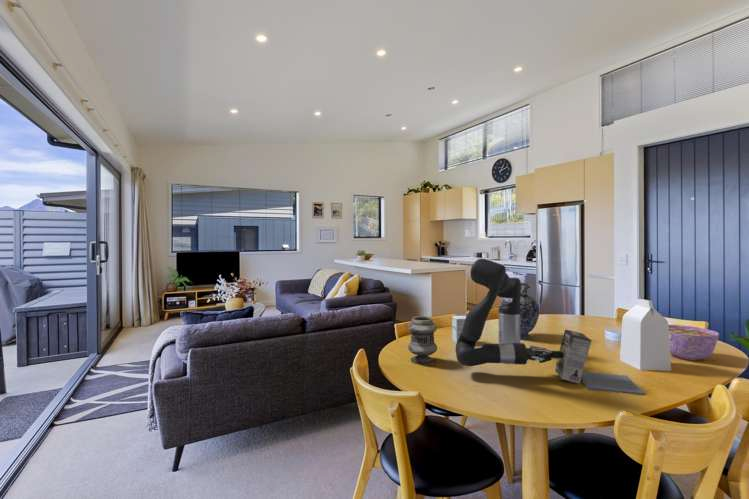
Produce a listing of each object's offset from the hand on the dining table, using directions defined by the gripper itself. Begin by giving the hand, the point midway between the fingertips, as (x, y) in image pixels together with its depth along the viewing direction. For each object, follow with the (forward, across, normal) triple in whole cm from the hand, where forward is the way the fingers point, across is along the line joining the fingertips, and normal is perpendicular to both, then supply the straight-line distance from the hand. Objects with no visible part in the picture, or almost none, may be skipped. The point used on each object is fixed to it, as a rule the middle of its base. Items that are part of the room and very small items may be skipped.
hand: (562, 354), depth 129 cm
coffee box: (+1, 0, +8) cm, 8 cm away
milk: (+37, +20, +10) cm, 43 cm away
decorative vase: (-1, +58, +9) cm, 59 cm away
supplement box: (-32, +44, +8) cm, 55 cm away
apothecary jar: (-50, +14, +8) cm, 53 cm away
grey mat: (+14, -2, +9) cm, 17 cm away
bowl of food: (+60, +33, +10) cm, 69 cm away
